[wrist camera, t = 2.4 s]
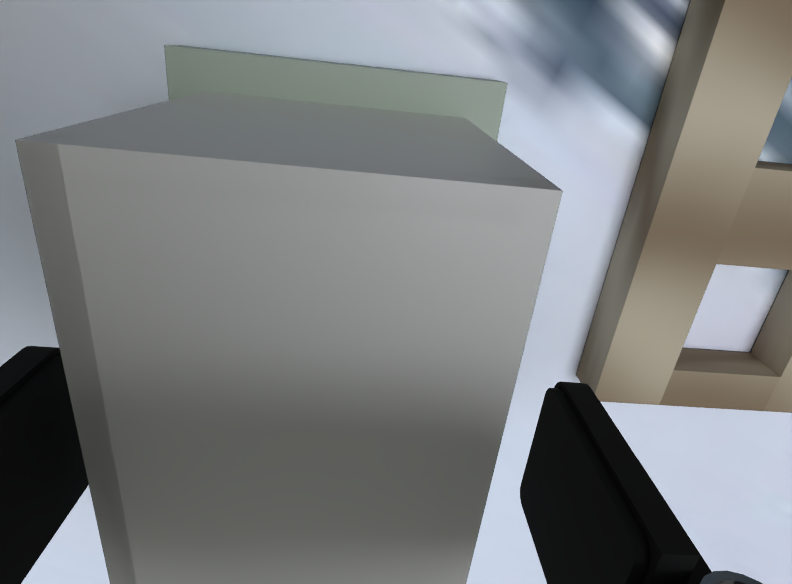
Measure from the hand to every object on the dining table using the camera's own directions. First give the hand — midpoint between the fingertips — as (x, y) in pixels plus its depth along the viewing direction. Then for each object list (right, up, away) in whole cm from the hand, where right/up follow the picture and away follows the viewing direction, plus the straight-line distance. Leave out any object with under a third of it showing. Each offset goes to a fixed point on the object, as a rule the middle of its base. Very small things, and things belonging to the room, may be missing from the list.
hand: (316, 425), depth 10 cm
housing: (0, +3, +6) cm, 7 cm away
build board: (+14, +5, +7) cm, 16 cm away
